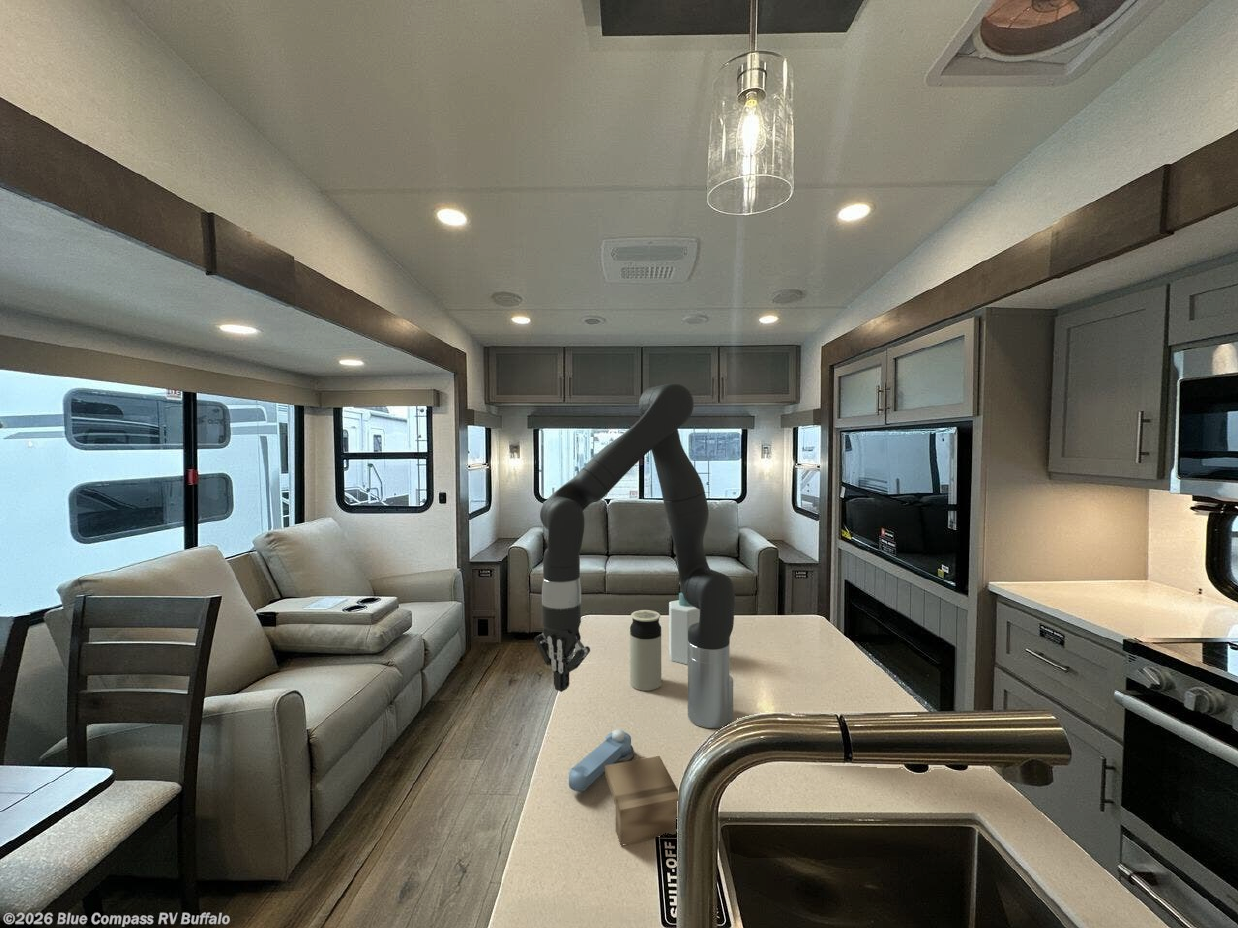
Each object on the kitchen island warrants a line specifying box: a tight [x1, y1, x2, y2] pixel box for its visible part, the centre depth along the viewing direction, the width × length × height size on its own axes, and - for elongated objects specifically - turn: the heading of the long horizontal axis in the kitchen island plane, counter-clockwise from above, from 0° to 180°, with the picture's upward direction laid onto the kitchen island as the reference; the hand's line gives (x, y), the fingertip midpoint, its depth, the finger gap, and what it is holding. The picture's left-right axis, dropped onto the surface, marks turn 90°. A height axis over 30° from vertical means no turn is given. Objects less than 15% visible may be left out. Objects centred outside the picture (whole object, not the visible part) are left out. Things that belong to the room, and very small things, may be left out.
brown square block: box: [604, 755, 679, 846], centre depth 78 cm, size 10×10×6 cm
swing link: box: [568, 728, 632, 792], centre depth 88 cm, size 16×5×3 cm, turn 145°
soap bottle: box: [668, 581, 700, 666], centre depth 137 cm, size 10×9×22 cm
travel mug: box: [629, 609, 662, 692], centre depth 121 cm, size 8×8×18 cm
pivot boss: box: [613, 744, 635, 764], centre depth 93 cm, size 6×6×1 cm
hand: (561, 688), depth 92 cm, fingers closed
